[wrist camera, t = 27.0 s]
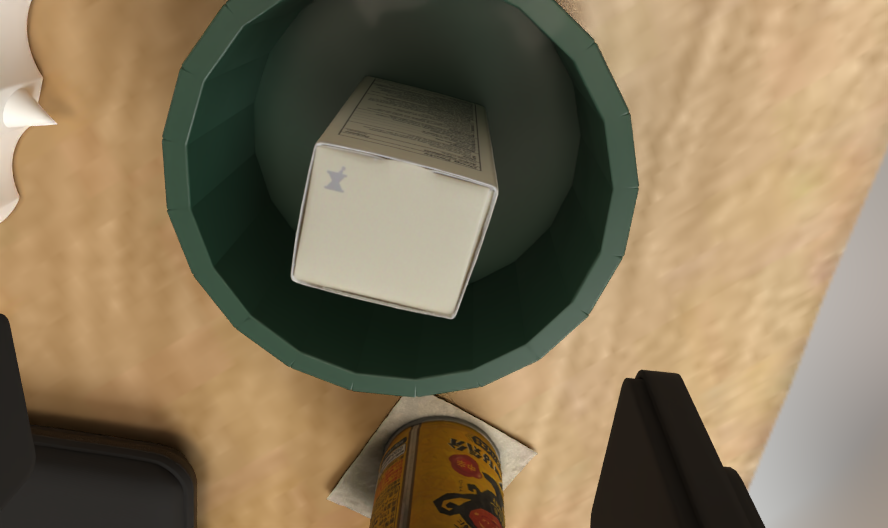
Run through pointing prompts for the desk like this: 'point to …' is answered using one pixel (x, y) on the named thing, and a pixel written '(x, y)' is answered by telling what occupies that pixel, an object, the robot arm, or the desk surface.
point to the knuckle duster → (16, 94)
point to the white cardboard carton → (397, 199)
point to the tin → (313, 109)
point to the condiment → (432, 469)
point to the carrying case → (103, 484)
